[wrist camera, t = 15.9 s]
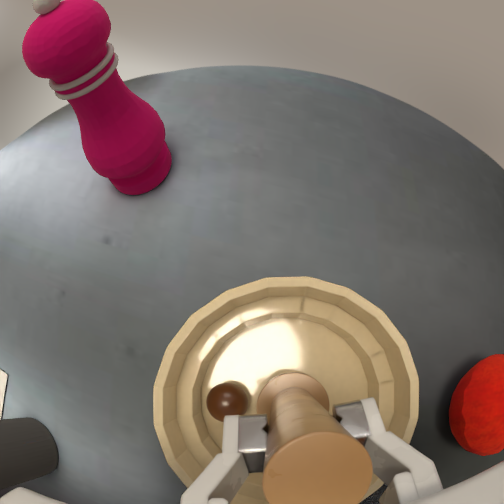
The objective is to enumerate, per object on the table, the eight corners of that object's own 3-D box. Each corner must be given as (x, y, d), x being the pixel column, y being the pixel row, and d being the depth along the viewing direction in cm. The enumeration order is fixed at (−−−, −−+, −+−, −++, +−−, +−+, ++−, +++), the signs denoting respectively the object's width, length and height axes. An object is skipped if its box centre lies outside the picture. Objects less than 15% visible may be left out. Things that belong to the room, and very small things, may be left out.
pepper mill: (189, 143, 29) (122, -49, 10) (157, 208, 27) (34, 12, 8) (129, 135, 30) (46, -22, 11) (96, 192, 28) (-27, 40, 9)
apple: (556, 435, 11) (496, 444, 17) (550, 337, 15) (494, 362, 21) (493, 467, 11) (430, 464, 17) (491, 344, 15) (430, 370, 21)
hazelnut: (250, 419, 20) (246, 426, 18) (210, 417, 20) (202, 424, 18) (250, 381, 21) (246, 384, 18) (210, 380, 21) (202, 383, 19)
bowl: (381, 480, 18) (409, 508, 12) (183, 485, 19) (158, 515, 13) (381, 293, 23) (411, 272, 17) (184, 298, 24) (158, 277, 18)
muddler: (326, 435, 16) (397, 534, 4) (257, 437, 16) (226, 548, 5) (326, 370, 17) (410, 385, 6) (257, 372, 17) (222, 396, 6)
